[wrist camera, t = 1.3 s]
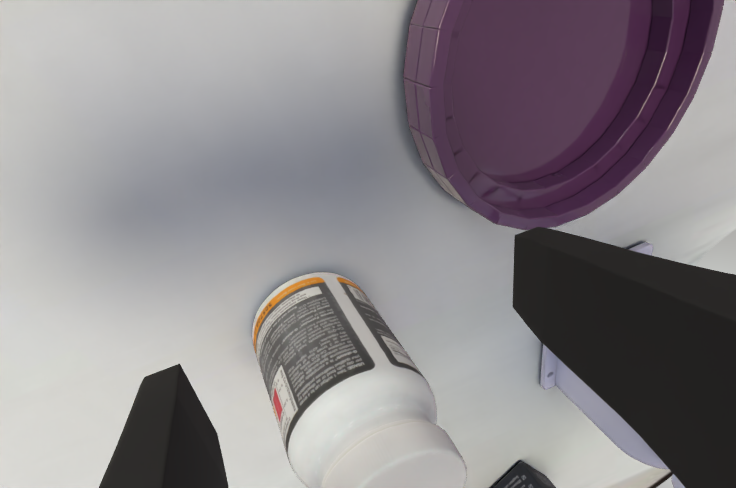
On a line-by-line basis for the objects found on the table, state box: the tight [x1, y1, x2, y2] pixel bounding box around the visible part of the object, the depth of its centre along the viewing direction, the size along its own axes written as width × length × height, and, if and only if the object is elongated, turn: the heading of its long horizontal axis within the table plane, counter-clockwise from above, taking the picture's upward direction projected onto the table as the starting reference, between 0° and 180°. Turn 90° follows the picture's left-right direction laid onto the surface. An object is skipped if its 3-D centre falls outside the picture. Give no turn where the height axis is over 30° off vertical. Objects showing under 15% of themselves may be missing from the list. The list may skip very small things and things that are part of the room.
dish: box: [403, 0, 724, 230], centre depth 19 cm, size 14×14×3 cm
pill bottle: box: [252, 272, 467, 488], centre depth 18 cm, size 6×6×10 cm
